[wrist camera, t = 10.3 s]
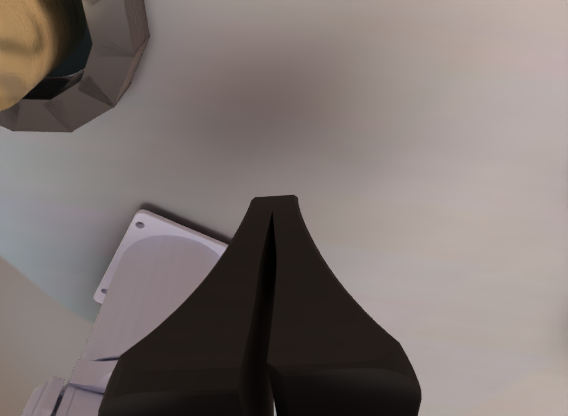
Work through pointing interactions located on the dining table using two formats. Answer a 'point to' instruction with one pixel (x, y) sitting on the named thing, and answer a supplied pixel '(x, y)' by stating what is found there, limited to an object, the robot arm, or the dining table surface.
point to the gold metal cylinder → (35, 42)
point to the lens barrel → (86, 71)
